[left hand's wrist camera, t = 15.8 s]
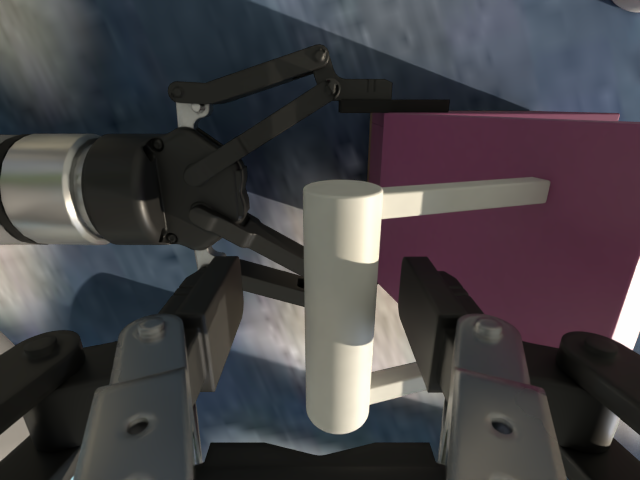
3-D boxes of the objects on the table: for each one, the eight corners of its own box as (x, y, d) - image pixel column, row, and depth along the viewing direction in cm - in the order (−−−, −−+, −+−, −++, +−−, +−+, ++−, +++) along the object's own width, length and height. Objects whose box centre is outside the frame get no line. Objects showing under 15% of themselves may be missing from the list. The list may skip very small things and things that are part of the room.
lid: (719, 125, 8) (355, 132, 5) (592, 460, 11) (341, 555, 9) (402, 113, 20) (247, 113, 18) (389, 277, 24) (259, 296, 21)
